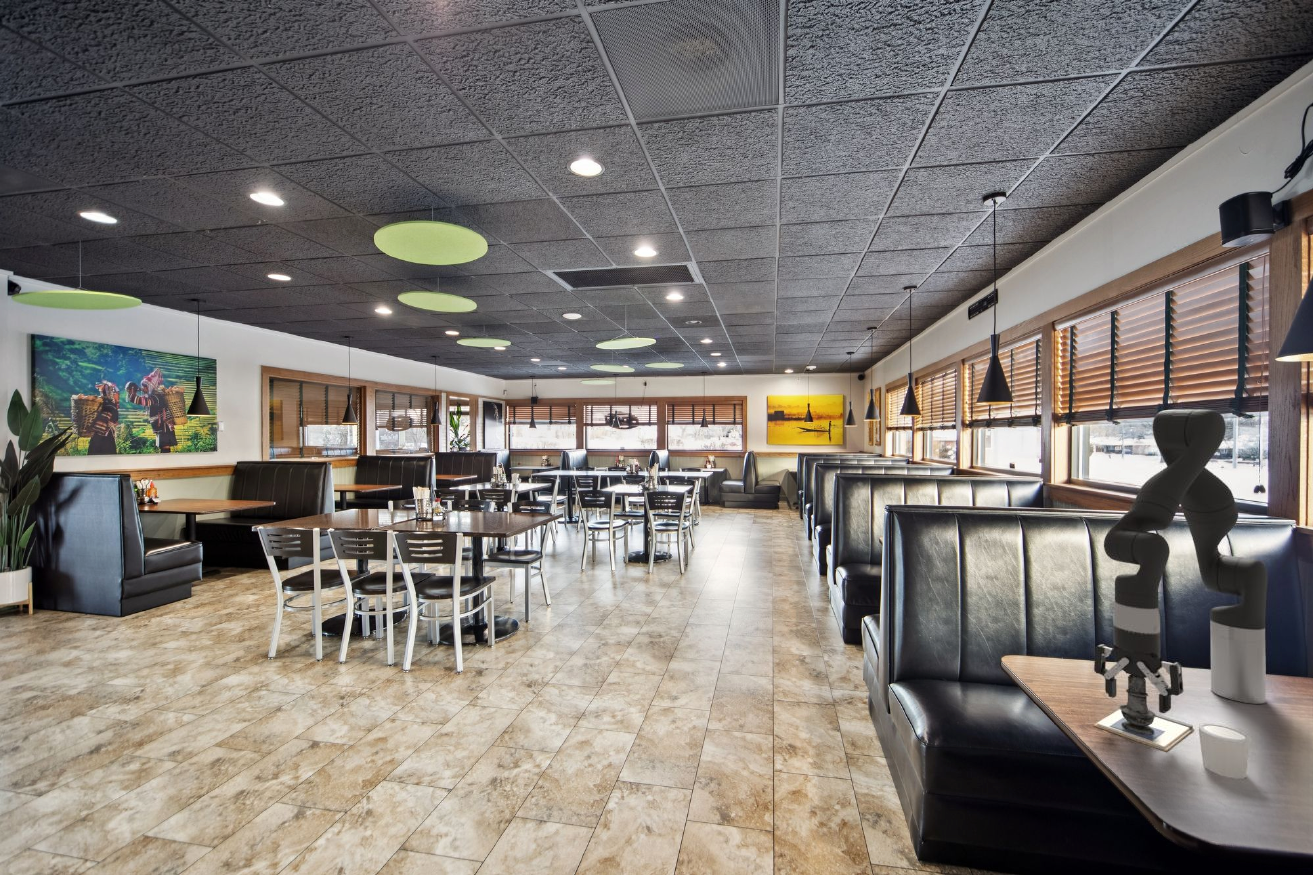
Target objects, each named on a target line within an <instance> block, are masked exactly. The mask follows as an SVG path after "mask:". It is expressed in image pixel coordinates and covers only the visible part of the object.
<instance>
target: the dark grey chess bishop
mask: <svg viewBox="0 0 1313 875" xmlns="http://www.w3.org/2000/svg"><path fill="white" fill-rule="evenodd" d="M1125 691H1126V693H1127V702H1126V705H1125V704H1122V705H1120V706H1118V708H1119V709H1120V710H1121V713H1122V715H1123V717H1124V718H1125V719H1126V720H1127V721H1126V722H1123V723H1122V724H1121V725H1122V726H1123V727H1124V728H1125V729H1127V730H1130V731H1132V732H1136V733H1140V734H1147V735H1150V734H1154V730H1153V729H1152V728H1150V727H1149V725H1150V724H1152V723H1153V721H1154V718H1155V717H1156V714H1157V713H1155V712H1154V711H1152V710H1150V709H1149V708H1148V702H1147V697H1149V693H1147V681H1146V678H1141V677H1139V676H1137V675H1132V674H1128V676H1127V689H1125Z"/></svg>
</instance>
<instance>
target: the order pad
mask: <svg viewBox="0 0 1313 875" xmlns="http://www.w3.org/2000/svg"><path fill="white" fill-rule="evenodd" d="M1124 705H1127V703H1125V704H1124ZM1155 714H1156V717H1155V718H1154V721H1153V723H1152V724H1150V725H1149V727H1150V728H1152V729H1153V730H1154V734H1150V735H1147V734H1140V733H1136V732H1132V731H1130V730H1127V729H1125V728H1124V727H1123V726H1122V725H1121V724H1122V723H1123V722H1126V721H1127V720H1126V719H1125V718H1124V717H1123V715H1122V713H1121V710H1120V708H1119V709H1118V710H1116V711H1114V712H1112V713H1111V714H1109V715H1108V716H1106V717H1104V718H1102V719H1100V721H1099V720H1098V722H1096V723H1094V724H1093V727H1096V728H1098V729H1100V730H1104V731H1106V732H1110V733H1111V734H1115V735H1118V736H1121V737H1123V738H1126V739H1130V740H1132V741H1135V742H1138V743H1140V742H1141V744H1143V745H1146V744H1147V746H1150V747H1152V748H1155V749H1158V750H1160V751H1164V752H1168V751H1170V749H1172V748H1173V747H1175V746H1176V745H1177V744H1178V743H1180V742H1181V741H1182V740H1183V739H1185V738H1186V737H1187V736H1188V735H1190V734H1191V733H1192V732H1194V731H1195V728H1194V725H1192V724H1190V723H1186V722H1183V721H1180V720H1176V719H1173V718H1170V717H1167V716H1164V715H1161V714H1158V713H1155Z"/></svg>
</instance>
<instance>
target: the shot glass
mask: <svg viewBox="0 0 1313 875" xmlns="http://www.w3.org/2000/svg"><path fill="white" fill-rule="evenodd" d="M1197 728H1198V734H1199V744H1200V750H1201V757H1202V765H1203V766H1204V768H1205V769H1207V770H1209V772H1210V771H1211V772H1212V773H1215V774H1217V775H1219V776H1223V777H1226V778H1231V779H1236V780H1237V779H1238V780H1243V779H1246V777H1247V771H1248V770H1247V769H1248V763H1249V762H1248V761H1249V756H1250V755H1249V753H1250V746H1251V738H1250V736H1248V734H1246V733H1244V732H1242V731H1239V730H1236V729H1235V728H1232V727H1229V726H1225V725H1220V724H1215V723H1202V724H1201V723H1200V724H1199V725H1198V726H1197Z"/></svg>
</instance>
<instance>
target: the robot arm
mask: <svg viewBox="0 0 1313 875" xmlns="http://www.w3.org/2000/svg"><path fill="white" fill-rule="evenodd" d="M1226 426H1227V425H1226V421H1225V419H1224V417H1223V415H1222V413H1221V412H1219V411H1218V410H1214V409H1167V410H1161V411H1159V412H1158V413H1157V414H1156V415H1155V416H1154V418H1153V421H1152V434H1153V437H1154V438H1153V439H1154V441H1155V444H1156V446H1157V449H1158V451H1159V453H1160V454H1161V457H1162V459H1163V460H1164V462H1165V464H1166V467H1165V468H1163V469H1161V470H1160V471H1159V472H1157V473H1155V474H1154V475H1152V476H1151V477H1150V478H1149V479H1148V480H1146V481H1145V483H1144V484H1143V485H1142V486H1141V487H1140V489H1139V491H1138V493H1137V494H1136V496H1135V499H1134V501H1133V503H1132V505H1131V508H1130V509H1129V510H1128V511H1127V512H1126V513H1125V514H1124V515H1123V516H1121V518H1120V519H1118V521H1117V522H1116V523H1115V524H1113V526H1112V527H1111V528H1110V529H1109V530H1108V532H1107V533H1106V534H1105V537H1104V541H1103V550H1104V552H1105V554H1106V556H1107V557H1108V558H1109V559H1111V560H1113V561H1115V562H1121V563H1126V564H1131V565H1137V566H1139V568H1138V570H1137V571H1136V573H1126V574H1125V573H1124V574H1119V575H1117V576H1116V577H1115V580H1114V607H1113V614H1112V615H1113V616H1112V622H1113V624H1112V626H1113V627H1112V628H1113V630H1112V631H1113V647H1108V646H1106V644H1104V643H1103V644H1099V645H1097V646H1095V650H1094V663H1093V664H1094V665H1093V666H1094V667H1093V671H1094V672H1095V673H1096V674H1099V675H1101V676H1103V678H1104V684H1105V685H1104V686H1105V688H1104V690H1105V693H1106V694H1108V697H1109V698H1111V699H1114V698H1116V696H1117V678H1116V676H1117V675H1119V674H1120V673H1121V672H1125V674H1127V675H1131V674H1132V675H1137V676H1139V677H1141V678H1145V679H1146V678H1147V679H1148V680H1149V682H1150V683H1151V684H1152V685H1153V686H1154V687H1155V688H1156V689H1157V691H1158V692H1159V694H1158V712H1159V714H1160V713H1161V714H1165V713H1167V712H1169V711H1170V710H1171V709H1172V696H1177V697H1178V696H1179V695H1181V694H1183V692H1184V681H1183V680H1184V679H1183V670H1182V664H1181V663H1179V662H1177V661H1176V662H1173V663H1172V662H1169V661H1168V662H1167V661H1164V660H1163V659H1162V657H1161V616H1160V611H1159V588H1160V585H1161V580H1162V577H1163V574H1164V571H1165V568H1166V566H1167V563H1168V560H1169V557H1170V554H1171V553H1170V550H1171V549H1170V546H1169V543H1168V541H1167V540H1166V539H1165V537H1164V536H1162V535H1161V534H1159V533H1156V532H1155V531H1162V530H1166V529H1168V528H1169V527H1170V526H1171V524H1172V523H1173V520H1174V518H1175V516H1176V514H1177V512H1178V509H1179V507H1180V508H1181V512H1182V513H1183V516H1184V518H1185V522H1186V523H1187V526H1188V528H1189V532H1190V535H1191V538H1192V541H1193V546H1194V550H1195V554H1196V560H1197V564H1198V568H1199V570H1198V571H1199V573H1200V578H1201V580H1202V584H1204V587H1206V588H1207V589H1208V590H1209V591H1212V592H1216V593H1220V594H1226V595H1231V596H1236V597H1242V599H1241V602H1240V603H1237V604H1234V605H1226V606H1225V605H1224V606H1215V607H1212V608H1211V609H1210V611H1209V614H1210V615H1209V620H1210V622H1209V624H1210V629H1209V630H1210V631H1209V632H1210V691H1212V693H1214V694H1215V695H1218V696H1220V697H1222V698H1226V699H1228V700H1232V701H1237V702H1240V703H1246V704H1254V705H1260V704H1265V703H1266V700H1267V699H1266V698H1267V696H1266V695H1267V694H1266V693H1267V692H1266V691H1267V690H1266V688H1267V686H1266V685H1267V683H1266V681H1267V680H1266V678H1267V677H1266V672H1267V671H1266V670H1267V669H1266V668H1267V667H1266V612H1267V608H1266V607H1267V591H1268V570H1267V568H1266V565H1265V564H1264V562H1262V561H1261V560H1260V559H1256V558H1248V557H1241V556H1234V555H1226V554H1222V553H1221V552H1220V551H1219V548H1218V547H1219V545H1220V543H1221V542H1222V540H1223V539H1224V538H1225V537H1226V536H1227V535H1228V534H1229V533H1230V531H1232V530H1233V528H1234V527H1235V525H1236V524H1237V522H1238V519H1239V511H1238V507H1237V504H1236V501H1235V498H1234V495H1233V492H1232V489H1230V488H1229V486H1228V485H1227V484H1226V483H1225V482H1224V481H1223V480H1221V479H1220V478H1219V477H1218V476H1217V475H1216V474H1214V473H1213V472H1212V471H1210V470H1209V469H1208V468H1206V466H1207V465H1208V464H1209V462H1210V460H1211V459H1212V458H1213V457H1214V455H1215V454H1216V453H1217V452H1218V450H1219V448H1220V447H1221V445H1222V442H1223V441H1224V438H1225V435H1226V428H1227V427H1226ZM1110 655H1111V656H1112V657H1113V659H1114V661H1115V662H1116V664H1114V665H1112V667H1111V668H1109V669H1107V668H1106V664H1107V657H1109V656H1110ZM1162 668H1163V669H1165V671H1166V673H1167V674H1168V675H1169V677H1170V680H1169V681H1170V685H1169V684H1168V683H1167V682H1166V680H1165V677H1164V676H1163V675H1162V673H1161V672H1160V669H1162Z"/></svg>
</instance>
